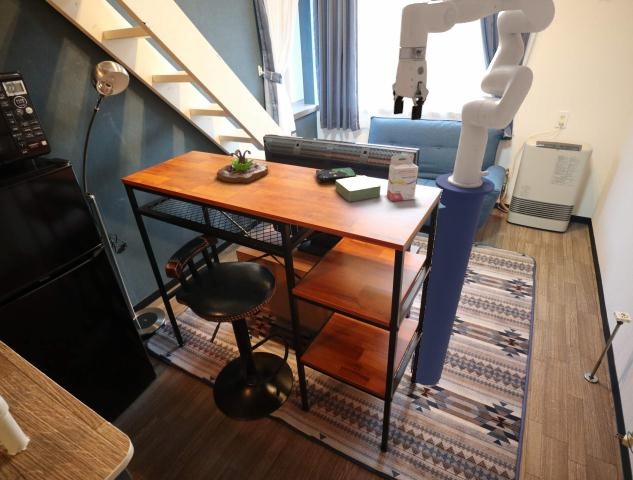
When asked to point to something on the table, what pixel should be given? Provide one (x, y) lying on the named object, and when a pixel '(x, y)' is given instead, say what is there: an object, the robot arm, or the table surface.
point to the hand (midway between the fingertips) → (406, 116)
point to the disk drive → (334, 174)
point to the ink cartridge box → (402, 178)
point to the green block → (357, 188)
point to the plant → (242, 170)
